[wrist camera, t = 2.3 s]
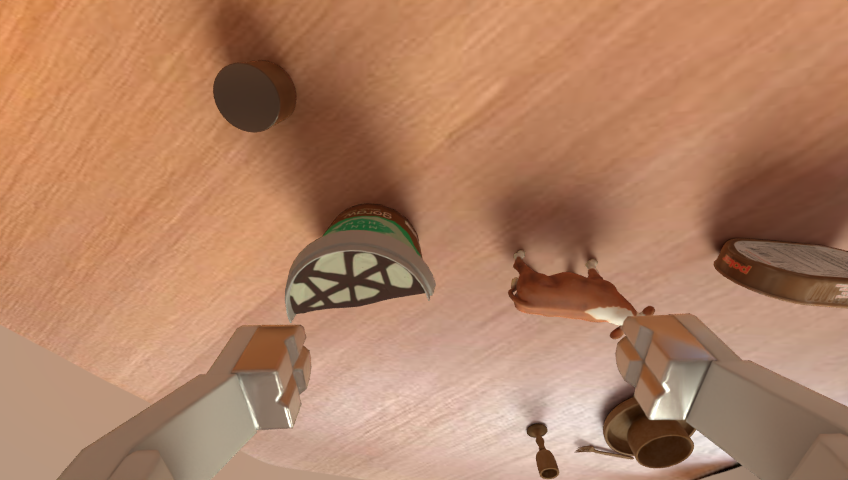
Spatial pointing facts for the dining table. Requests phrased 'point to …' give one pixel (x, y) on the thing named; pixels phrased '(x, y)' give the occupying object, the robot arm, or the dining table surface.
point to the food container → (358, 263)
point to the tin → (787, 270)
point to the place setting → (629, 439)
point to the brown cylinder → (254, 95)
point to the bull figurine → (571, 296)
